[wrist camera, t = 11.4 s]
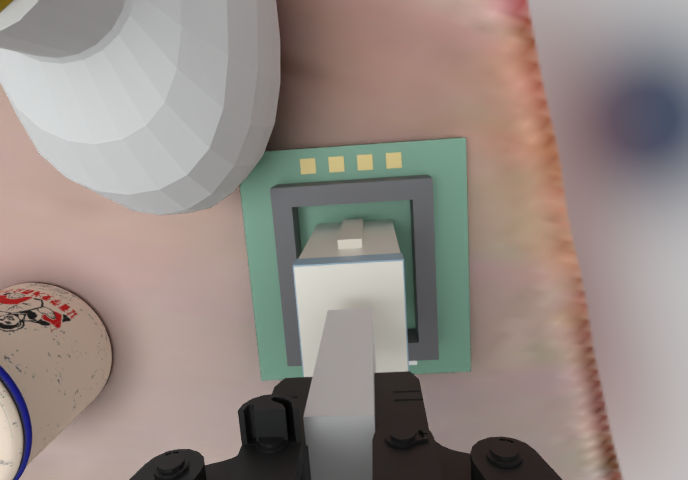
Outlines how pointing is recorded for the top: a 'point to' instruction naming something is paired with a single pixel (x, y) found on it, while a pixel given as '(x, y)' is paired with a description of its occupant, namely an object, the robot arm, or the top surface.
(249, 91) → the white round bottle
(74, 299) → the teacup with lid
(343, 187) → the header board
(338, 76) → the top surface
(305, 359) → the plug
